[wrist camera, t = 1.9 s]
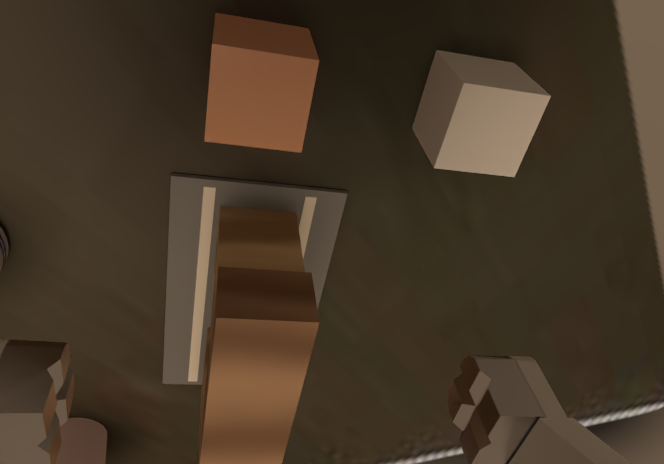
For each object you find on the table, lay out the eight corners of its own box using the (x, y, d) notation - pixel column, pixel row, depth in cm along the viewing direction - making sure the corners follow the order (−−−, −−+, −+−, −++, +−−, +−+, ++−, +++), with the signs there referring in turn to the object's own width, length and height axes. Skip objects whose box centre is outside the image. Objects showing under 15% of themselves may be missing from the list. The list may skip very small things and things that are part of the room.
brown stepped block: (221, 189, 28) (216, 317, 21) (299, 197, 29) (319, 322, 22) (202, 379, 37) (193, 516, 30) (262, 380, 38) (268, 514, 30)
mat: (171, 172, 27) (170, 176, 27) (346, 190, 29) (347, 194, 29) (163, 380, 37) (162, 384, 36) (297, 382, 39) (297, 387, 38)
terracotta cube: (215, 12, 23) (212, 43, 20) (308, 27, 24) (319, 60, 21) (208, 100, 26) (204, 141, 22) (293, 111, 26) (301, 152, 23)
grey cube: (435, 49, 26) (463, 83, 22) (513, 62, 26) (551, 96, 23) (411, 127, 28) (434, 168, 25) (483, 137, 29) (514, 177, 26)
